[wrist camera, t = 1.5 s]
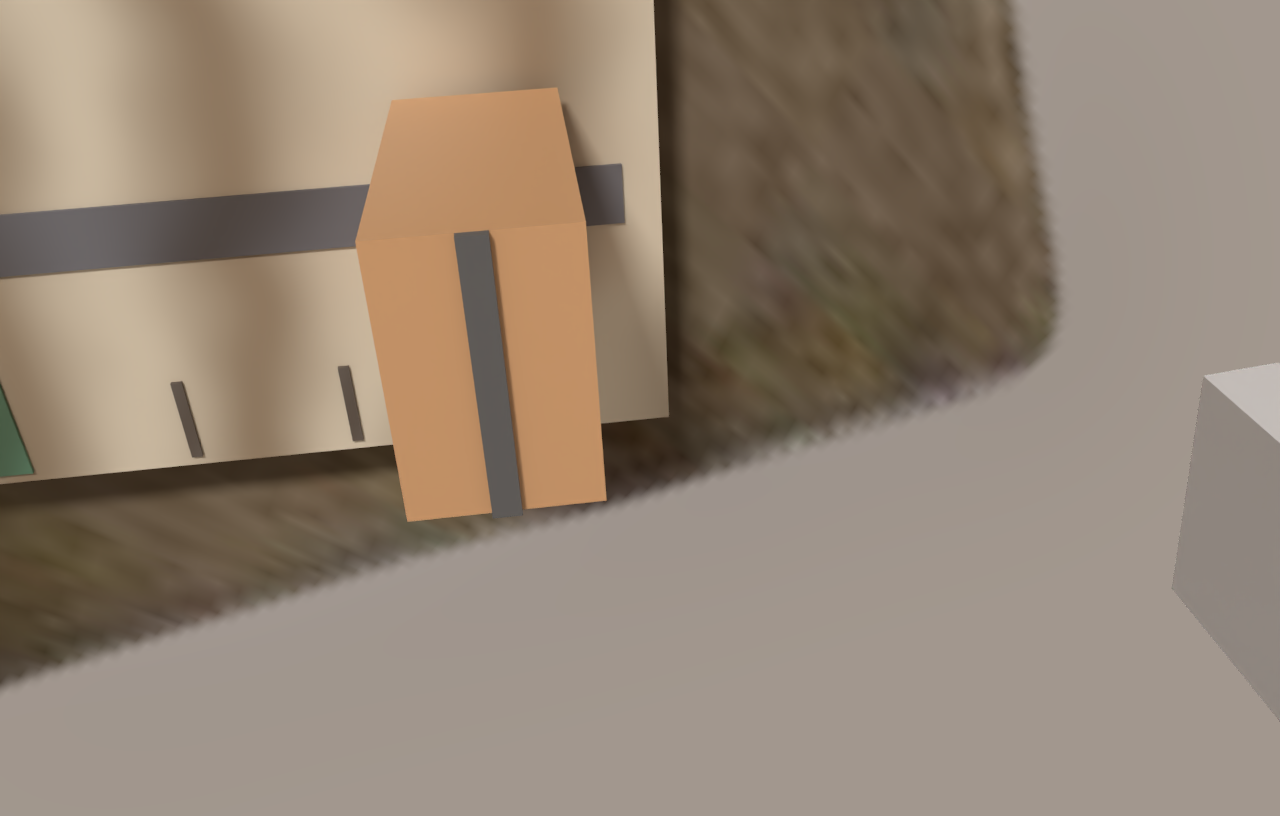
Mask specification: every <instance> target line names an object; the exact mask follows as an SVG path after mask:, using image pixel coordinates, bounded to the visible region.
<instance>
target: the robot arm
mask: <svg viewBox="0 0 1280 816" xmlns="http://www.w3.org/2000/svg"><path fill="white" fill-rule="evenodd" d="M1172 589H1173V590H1174V592H1175V593H1176V594H1177V595H1178V597H1179V598H1180V599H1181V600H1182V602H1183V603H1184V604H1185V605H1186V607H1187V608H1188V609H1189V610H1190V612H1191V613H1192V614H1193V615H1194V616H1195V618H1196V619H1197V620H1198V621H1199V623H1200V624H1201V625H1202V626H1203V628H1204V629H1205V630H1206V631H1207V632H1208V634H1209V635H1210V636H1211V637H1212V639H1213V640H1214V641H1215V642H1216V644H1217V645H1218V646H1219V647H1220V649H1221V650H1222V651H1223V652H1224V653H1225V654H1226V656H1227V657H1228V658H1229V660H1230V661H1231V662H1232V663H1233V664H1234V666H1235V667H1236V668H1237V669H1238V671H1239V672H1240V673H1241V674H1242V676H1243V677H1244V678H1245V679H1246V681H1247V682H1248V683H1249V684H1250V685H1251V687H1252V688H1253V689H1254V690H1255V691H1256V693H1257V694H1258V695H1259V696H1260V698H1261V699H1262V700H1263V701H1264V703H1265V704H1266V705H1267V706H1268V708H1269V709H1270V710H1271V711H1272V713H1273V714H1274V715H1275V716H1276V717H1277V719H1278V720H1279V721H1280V364H1279V363H1273V364H1268V365H1263V366H1256V367H1251V368H1245V369H1239V370H1234V371H1228V372H1223V373H1217V374H1211V375H1206V376H1203V382H1202V388H1201V395H1200V402H1199V409H1198V415H1197V422H1196V429H1195V435H1194V442H1193V449H1192V455H1191V462H1190V469H1189V476H1188V482H1187V489H1186V496H1185V503H1184V510H1183V516H1182V523H1181V530H1180V537H1179V543H1178V550H1177V558H1176V564H1175V570H1174V577H1173V584H1172Z"/></svg>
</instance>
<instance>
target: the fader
mask: <svg viewBox="0 0 1280 816" xmlns="http://www.w3.org/2000/svg"><path fill="white" fill-rule="evenodd" d="M355 244H356V249H357V254H358V260H359V265H360V270H361V276H362V281H363V286H364V292H365V297H366V302H367V308H368V313H369V318H370V324H371V329H372V334H373V340H374V345H375V350H376V356H377V361H378V366H379V372H380V377H381V382H382V388H383V393H384V398H385V404H386V409H387V414H388V420H389V425H390V430H391V436H392V441H393V446H394V452H395V457H396V462H397V468H398V473H399V478H400V484H401V489H402V494H403V500H404V505H405V510H406V516H407V521H408V522H409V521H419V520H428V519H437V518H447V517H456V516H466V515H475V514H484V513H492V516H493V518H502V517H511V516H521V515H523V509H531V508H541V507H550V506H560V505H569V504H578V503H588V502H597V501H607V500H606V487H605V473H604V460H603V446H602V433H601V419H600V406H599V392H598V378H597V365H596V351H595V338H594V324H593V311H592V297H591V284H590V270H589V257H588V243H587V230H586V220H585V215H584V210H583V206H582V201H581V196H580V192H579V187H578V182H577V177H576V173H575V168H574V163H573V159H572V154H571V149H570V145H569V140H568V135H567V130H566V126H565V121H564V116H563V112H562V107H561V102H560V98H559V93H558V88H557V87H556V88H543V89H530V90H517V91H504V92H491V93H478V94H465V95H452V96H439V97H426V98H413V99H400V100H392V101H391V105H390V109H389V113H388V116H387V120H386V124H385V128H384V132H383V136H382V140H381V144H380V147H379V151H378V155H377V159H376V163H375V167H374V171H373V174H372V178H371V182H370V186H369V190H368V194H367V198H366V202H365V205H364V209H363V213H362V217H361V221H360V225H359V229H358V232H357V236H356V240H355Z"/></svg>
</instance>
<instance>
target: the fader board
mask: <svg viewBox="0 0 1280 816" xmlns="http://www.w3.org/2000/svg"><path fill="white" fill-rule="evenodd" d="M556 87H557V88H558V93H559V98H560V102H561V107H562V112H563V116H564V121H565V126H566V130H567V135H568V140H569V145H570V149H571V154H572V159H573V163H574V168H575V173H576V177H577V182H578V187H579V192H580V196H581V201H582V206H583V210H584V215H585V220H586V230H587V243H588V257H589V270H590V284H591V297H592V311H593V324H594V338H595V351H596V365H597V378H598V392H599V406H600V419H601V423H611V422H621V421H631V420H641V419H651V418H661V417H669V403H668V376H667V349H666V323H665V296H664V269H663V242H662V215H661V188H660V161H659V135H658V108H657V81H656V54H655V27H654V0H0V484H7V483H17V482H26V481H36V480H46V479H56V478H66V477H76V476H86V475H96V474H106V473H116V472H126V471H135V470H145V469H155V468H165V467H175V466H185V465H195V464H205V463H215V462H225V461H235V460H245V459H254V458H264V457H274V456H284V455H294V454H304V453H314V452H324V451H334V450H344V449H354V448H363V447H373V446H383V445H393V441H392V436H391V430H390V425H389V420H388V414H387V409H386V404H385V398H384V393H383V388H382V382H381V377H380V372H379V366H378V361H377V356H376V350H375V345H374V340H373V334H372V329H371V324H370V318H369V313H368V308H367V302H366V297H365V292H364V286H363V281H362V276H361V270H360V265H359V260H358V254H357V249H356V244H355V240H356V236H357V232H358V229H359V225H360V221H361V217H362V213H363V209H364V205H365V202H366V198H367V194H368V190H369V186H370V182H371V178H372V174H373V171H374V167H375V163H376V159H377V155H378V151H379V147H380V144H381V140H382V136H383V132H384V128H385V124H386V120H387V116H388V113H389V109H390V105H391V101H392V100H400V99H413V98H426V97H439V96H452V95H465V94H478V93H491V92H504V91H517V90H530V89H543V88H556Z"/></svg>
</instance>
